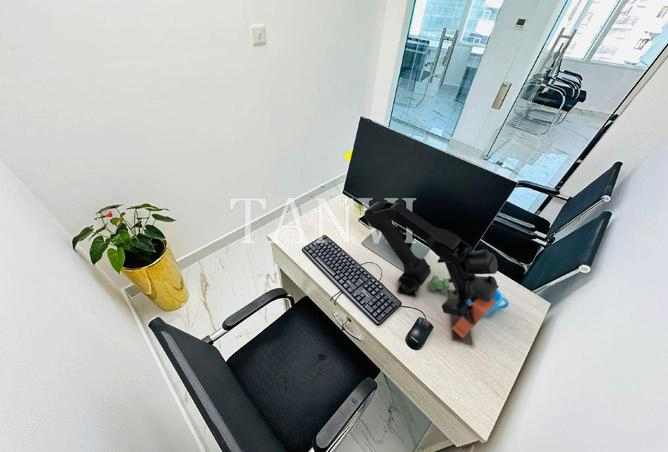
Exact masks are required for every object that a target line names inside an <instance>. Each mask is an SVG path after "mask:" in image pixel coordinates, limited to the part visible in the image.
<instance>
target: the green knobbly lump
mask: <svg viewBox="0 0 668 452" xmlns="http://www.w3.org/2000/svg"><path fill="white" fill-rule="evenodd" d="M448 279H449V278H446V277H445V278H443V280H440V279H439V276H436V275H433V276H432V277H431V279H430V282H429V291H430V292H433V293H434V292H436V290H439V292H440V294H443V295H446V294H447V293H448V290H450V288H451V283H449V281H448Z"/></svg>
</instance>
